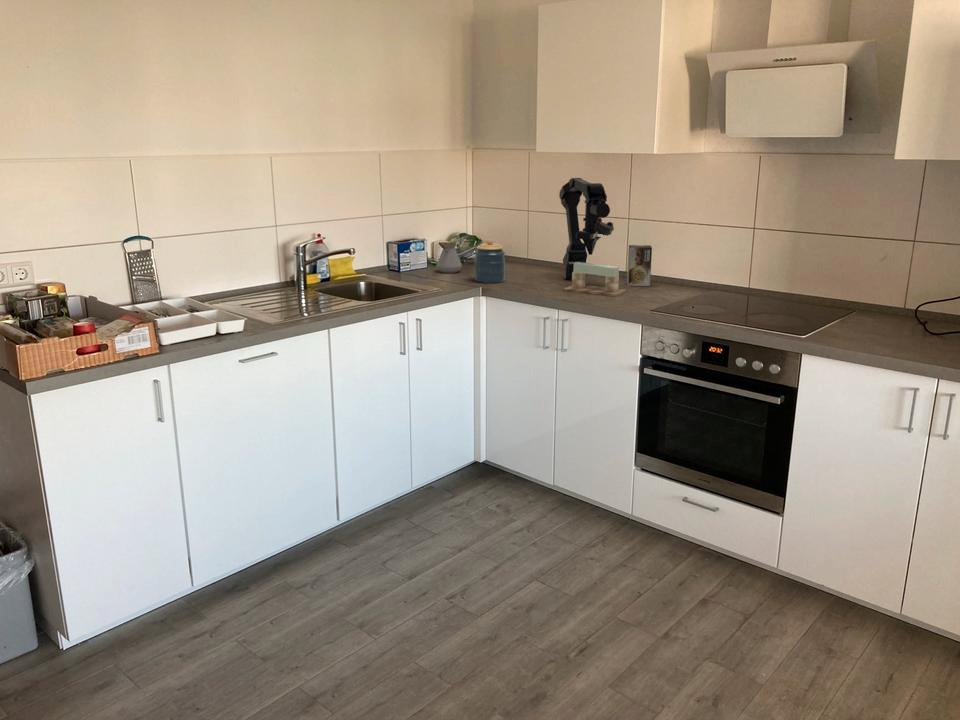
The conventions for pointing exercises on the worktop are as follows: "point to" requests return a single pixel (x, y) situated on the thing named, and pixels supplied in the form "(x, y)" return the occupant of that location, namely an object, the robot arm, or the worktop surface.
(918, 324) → the worktop surface
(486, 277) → the canister
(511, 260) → the worktop surface
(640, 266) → the coffee box
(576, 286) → the birch gate
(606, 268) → the sage plank
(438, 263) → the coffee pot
